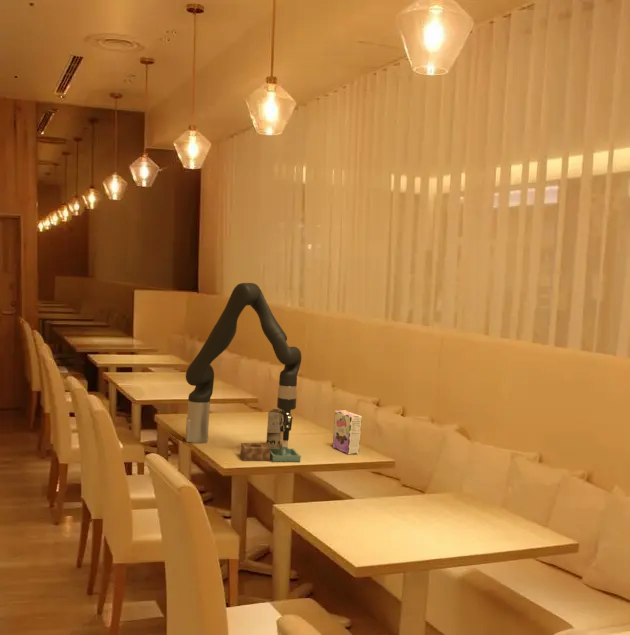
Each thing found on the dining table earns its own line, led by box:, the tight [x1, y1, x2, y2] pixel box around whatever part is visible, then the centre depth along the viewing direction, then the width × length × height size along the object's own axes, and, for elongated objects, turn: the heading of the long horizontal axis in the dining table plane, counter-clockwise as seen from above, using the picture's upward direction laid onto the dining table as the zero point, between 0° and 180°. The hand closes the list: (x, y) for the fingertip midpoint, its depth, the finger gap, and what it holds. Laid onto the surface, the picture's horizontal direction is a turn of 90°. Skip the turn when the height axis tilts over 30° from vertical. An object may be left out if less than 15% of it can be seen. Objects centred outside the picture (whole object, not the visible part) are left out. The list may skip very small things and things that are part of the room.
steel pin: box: [279, 431, 289, 455], centre depth 314 cm, size 3×3×10 cm
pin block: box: [240, 442, 271, 462], centre depth 311 cm, size 10×10×5 cm
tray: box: [270, 448, 301, 463], centre depth 314 cm, size 11×13×2 cm
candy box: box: [332, 409, 363, 455], centre depth 335 cm, size 14×6×16 cm, turn 27°
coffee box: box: [265, 408, 282, 448], centre depth 331 cm, size 9×6×16 cm
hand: (284, 438), depth 314 cm, fingers open, 4 cm apart
